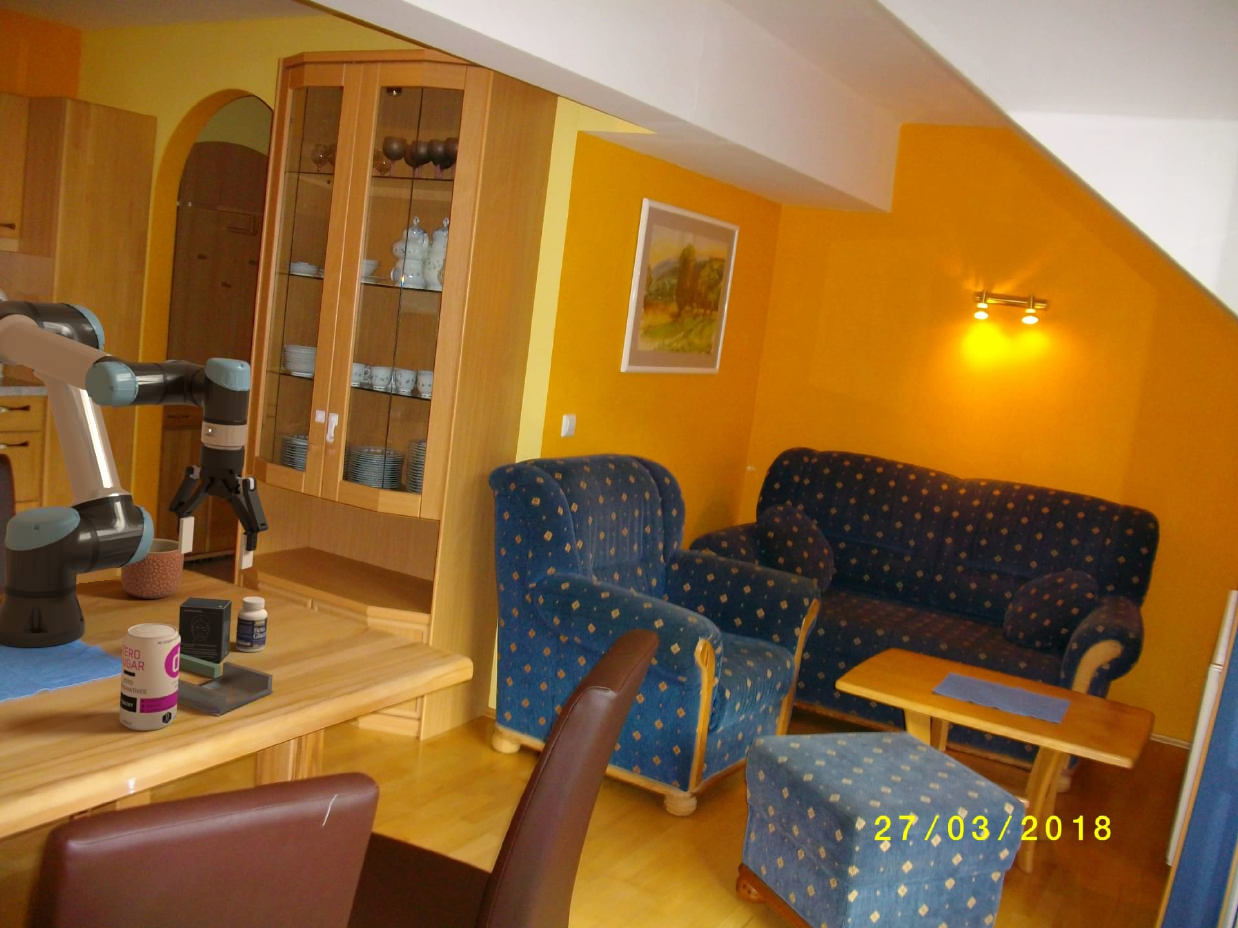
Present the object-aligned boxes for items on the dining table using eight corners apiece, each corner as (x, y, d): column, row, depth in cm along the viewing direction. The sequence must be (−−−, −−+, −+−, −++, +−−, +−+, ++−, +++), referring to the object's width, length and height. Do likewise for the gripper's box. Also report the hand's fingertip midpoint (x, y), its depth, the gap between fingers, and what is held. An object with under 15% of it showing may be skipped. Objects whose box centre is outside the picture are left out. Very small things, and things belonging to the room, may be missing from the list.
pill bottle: (255, 654, 197) (258, 605, 196) (229, 649, 198) (232, 600, 197) (270, 646, 202) (273, 598, 201) (245, 641, 203) (248, 593, 202)
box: (229, 653, 196) (232, 599, 195) (220, 663, 191) (224, 608, 189) (186, 650, 195) (189, 595, 194) (176, 660, 190) (179, 604, 188)
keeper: (171, 701, 172) (172, 681, 171) (228, 679, 184) (229, 660, 183) (218, 716, 168) (219, 696, 168) (273, 692, 180) (274, 673, 180)
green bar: (154, 660, 189) (154, 649, 188) (160, 658, 190) (161, 647, 190) (214, 678, 184) (214, 667, 183) (220, 676, 185) (221, 665, 185)
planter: (186, 601, 223) (189, 551, 222) (122, 604, 217) (125, 553, 215) (176, 585, 234) (179, 537, 232) (115, 587, 227) (117, 538, 225)
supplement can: (184, 713, 168) (189, 624, 166) (163, 734, 160) (168, 641, 158) (133, 708, 168) (137, 619, 165) (109, 729, 159) (114, 635, 157)
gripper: (152, 435, 187) (145, 549, 191) (266, 459, 179) (257, 578, 183) (182, 432, 194) (175, 542, 198) (294, 455, 186) (284, 569, 190)
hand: (214, 559), depth 190 cm, fingers open, 13 cm apart
